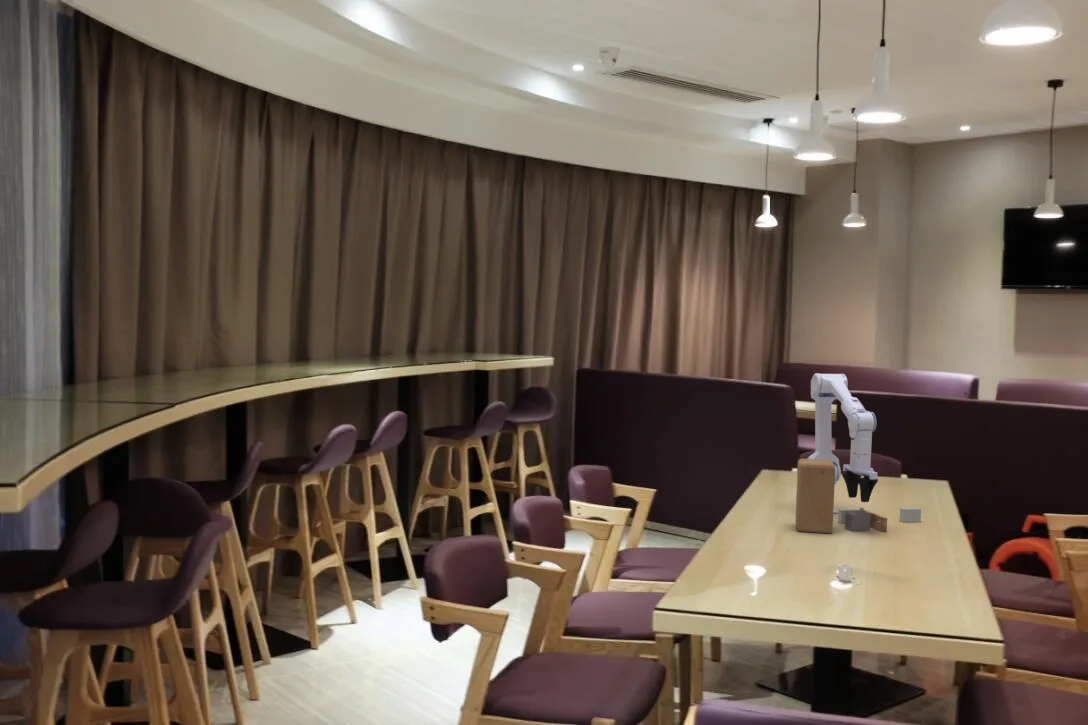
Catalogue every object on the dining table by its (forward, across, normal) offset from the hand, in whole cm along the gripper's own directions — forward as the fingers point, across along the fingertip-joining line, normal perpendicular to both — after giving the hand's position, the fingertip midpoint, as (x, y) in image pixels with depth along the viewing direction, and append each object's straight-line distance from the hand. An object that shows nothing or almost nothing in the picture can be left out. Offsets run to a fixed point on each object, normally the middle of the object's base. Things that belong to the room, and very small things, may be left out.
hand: (858, 499), depth 293 cm
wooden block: (+9, +3, +13) cm, 16 cm away
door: (+9, +2, -6) cm, 11 cm away
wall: (+9, +8, -13) cm, 17 cm away
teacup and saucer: (+10, -47, +31) cm, 57 cm away
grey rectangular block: (+9, 0, 0) cm, 9 cm away
